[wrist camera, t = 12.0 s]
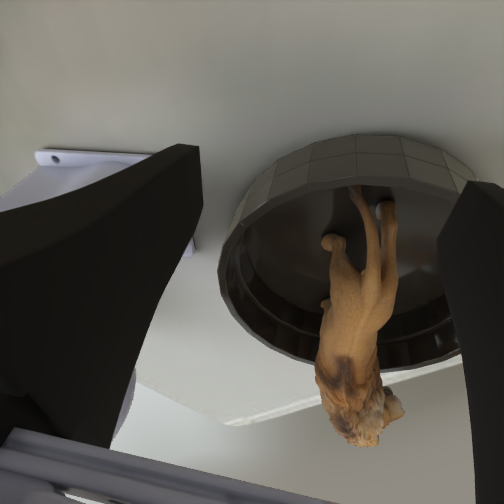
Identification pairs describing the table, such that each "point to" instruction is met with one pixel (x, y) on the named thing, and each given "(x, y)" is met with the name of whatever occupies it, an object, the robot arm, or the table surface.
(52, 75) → the table surface
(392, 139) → the dark grey round bowl
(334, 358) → the lion figurine
